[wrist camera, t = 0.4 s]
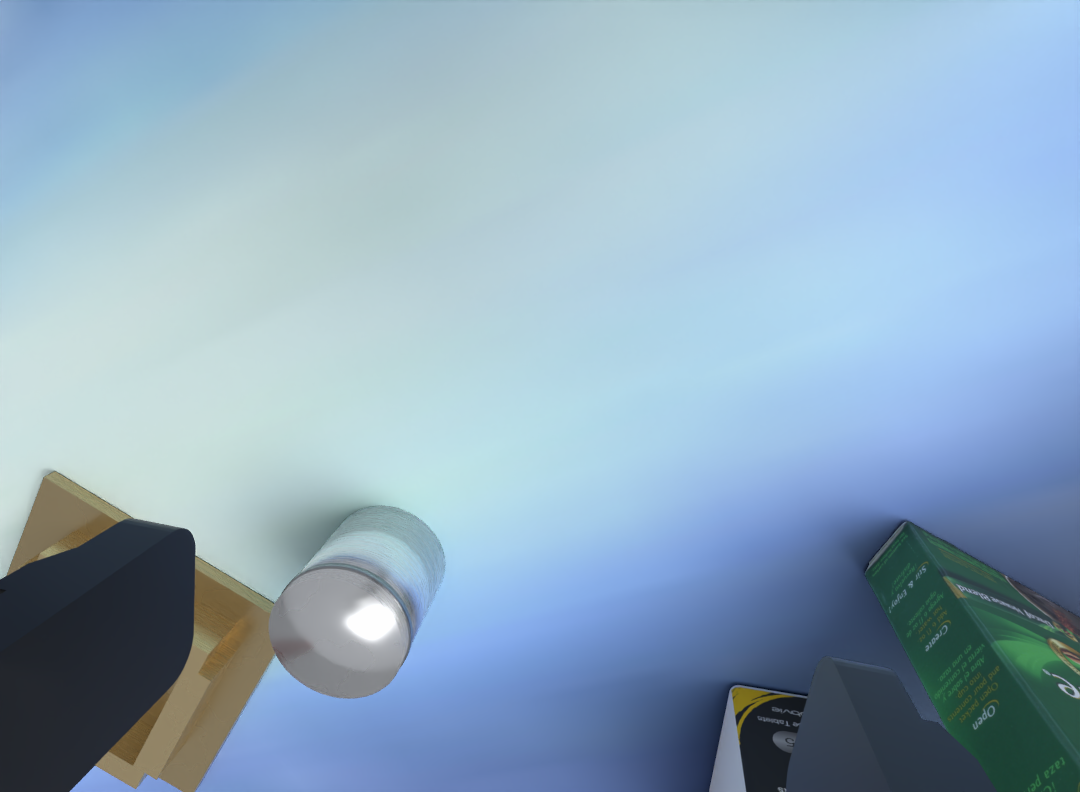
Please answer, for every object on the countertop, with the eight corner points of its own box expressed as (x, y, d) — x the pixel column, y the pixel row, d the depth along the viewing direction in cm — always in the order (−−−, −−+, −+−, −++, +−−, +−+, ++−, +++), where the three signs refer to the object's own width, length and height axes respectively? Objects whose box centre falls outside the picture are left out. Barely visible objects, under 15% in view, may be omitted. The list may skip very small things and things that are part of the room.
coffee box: (1099, 620, 26) (1493, 1028, 14) (1043, 675, 27) (1365, 1101, 15) (907, 512, 26) (1135, 829, 14) (858, 572, 27) (1029, 917, 15)
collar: (54, 471, 31) (3, 498, 29) (297, 617, 32) (267, 656, 29) (-18, 659, 35) (-68, 697, 33) (198, 786, 36) (165, 832, 33)
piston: (363, 482, 29) (302, 551, 24) (467, 546, 29) (429, 628, 24) (313, 569, 31) (245, 651, 26) (412, 629, 31) (365, 722, 26)
